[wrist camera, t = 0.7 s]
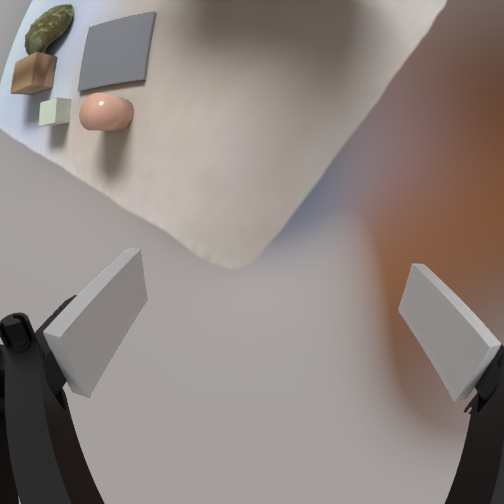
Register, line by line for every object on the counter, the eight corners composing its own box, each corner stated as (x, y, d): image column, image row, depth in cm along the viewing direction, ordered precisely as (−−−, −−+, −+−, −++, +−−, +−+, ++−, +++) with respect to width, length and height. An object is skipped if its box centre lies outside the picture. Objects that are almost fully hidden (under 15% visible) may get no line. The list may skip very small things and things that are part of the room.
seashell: (74, -5, 22) (42, 19, 18) (86, 22, 29) (58, 48, 25) (37, 16, 22) (7, 43, 19) (50, 39, 29) (23, 68, 26)
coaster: (91, 28, 27) (89, 27, 26) (156, 13, 27) (154, 11, 26) (80, 91, 31) (77, 91, 31) (145, 80, 31) (143, 79, 31)
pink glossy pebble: (106, 100, 32) (80, 96, 26) (135, 97, 32) (111, 90, 26) (104, 132, 34) (78, 132, 28) (132, 129, 34) (109, 128, 28)
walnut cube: (36, 66, 28) (15, 62, 23) (57, 57, 28) (36, 51, 23) (32, 94, 31) (10, 93, 25) (53, 87, 31) (31, 84, 25)
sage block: (55, 103, 32) (40, 102, 28) (71, 99, 32) (57, 97, 28) (53, 125, 33) (38, 126, 30) (69, 122, 33) (55, 122, 30)
